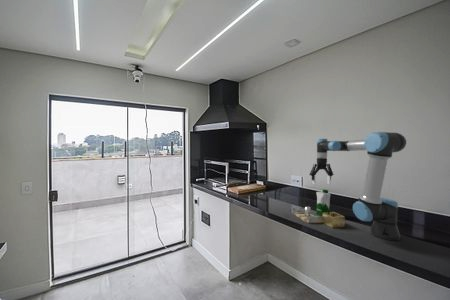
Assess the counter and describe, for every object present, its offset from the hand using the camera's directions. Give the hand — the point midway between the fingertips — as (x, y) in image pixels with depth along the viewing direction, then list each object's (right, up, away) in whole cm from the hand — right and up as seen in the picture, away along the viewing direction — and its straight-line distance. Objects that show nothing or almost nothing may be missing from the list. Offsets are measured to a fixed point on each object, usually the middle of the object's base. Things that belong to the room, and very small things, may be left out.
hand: (321, 184), depth 167 cm
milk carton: (+1, -25, 0) cm, 25 cm away
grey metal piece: (-15, -23, -9) cm, 29 cm away
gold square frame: (-1, -25, -20) cm, 32 cm away
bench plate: (-15, -25, -9) cm, 30 cm away
